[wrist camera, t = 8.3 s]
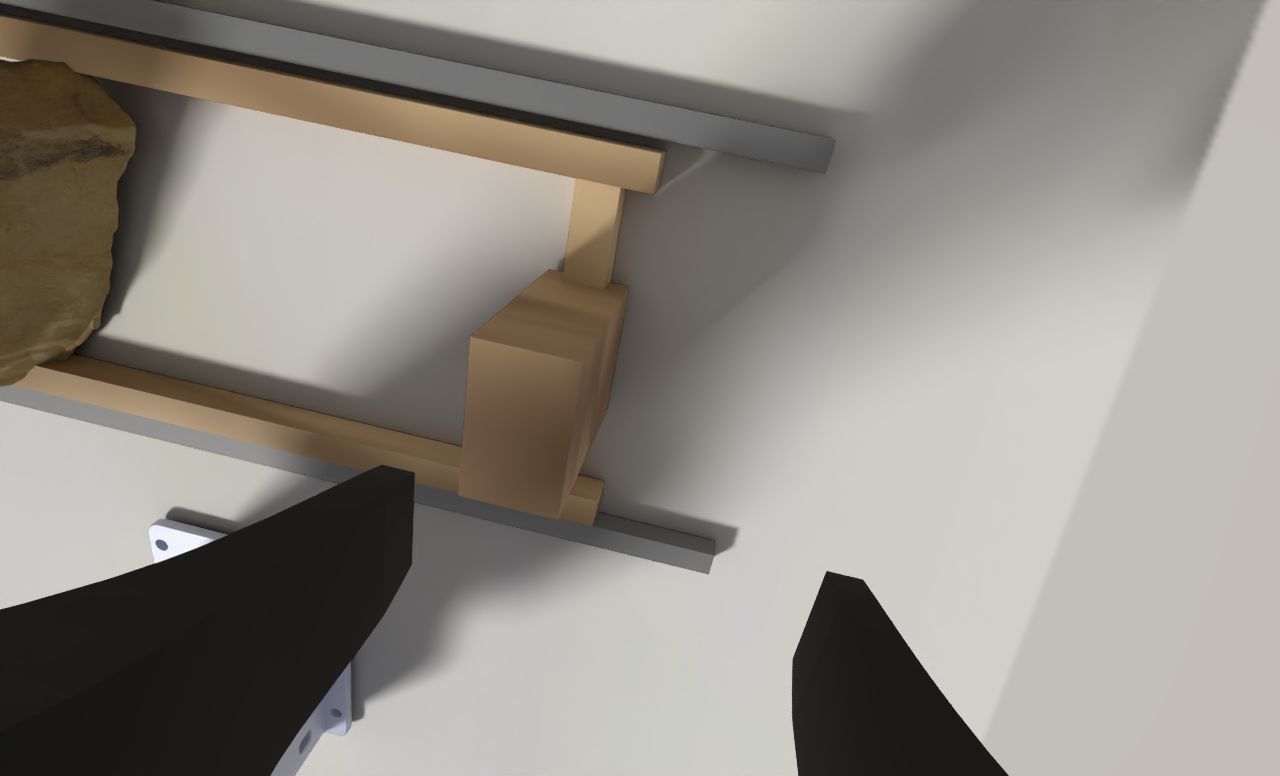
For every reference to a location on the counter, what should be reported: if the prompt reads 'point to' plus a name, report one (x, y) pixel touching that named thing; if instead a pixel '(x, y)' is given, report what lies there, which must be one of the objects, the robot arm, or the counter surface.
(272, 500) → the counter surface
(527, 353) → the oak sled
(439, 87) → the rails
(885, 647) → the robot arm
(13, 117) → the rock
